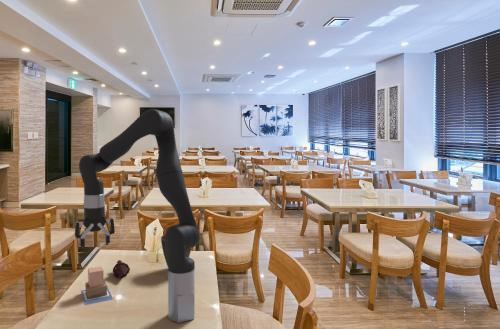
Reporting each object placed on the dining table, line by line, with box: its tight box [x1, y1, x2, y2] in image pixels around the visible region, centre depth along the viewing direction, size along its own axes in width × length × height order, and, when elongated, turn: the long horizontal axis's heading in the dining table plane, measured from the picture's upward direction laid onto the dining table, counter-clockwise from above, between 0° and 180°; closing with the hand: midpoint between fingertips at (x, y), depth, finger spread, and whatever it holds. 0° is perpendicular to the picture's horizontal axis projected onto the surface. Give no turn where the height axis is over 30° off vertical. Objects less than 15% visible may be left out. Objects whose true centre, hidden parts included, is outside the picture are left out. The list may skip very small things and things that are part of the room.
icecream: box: [112, 259, 131, 278], centre depth 161 cm, size 7×7×15 cm
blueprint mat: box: [80, 286, 114, 306], centre depth 143 cm, size 14×10×1 cm
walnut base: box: [84, 279, 108, 299], centre depth 143 cm, size 7×7×4 cm
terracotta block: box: [87, 265, 105, 288], centre depth 143 cm, size 5×5×6 cm
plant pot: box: [160, 234, 192, 267], centre depth 170 cm, size 15×15×16 cm
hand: (95, 246), depth 142 cm, fingers open, 8 cm apart
